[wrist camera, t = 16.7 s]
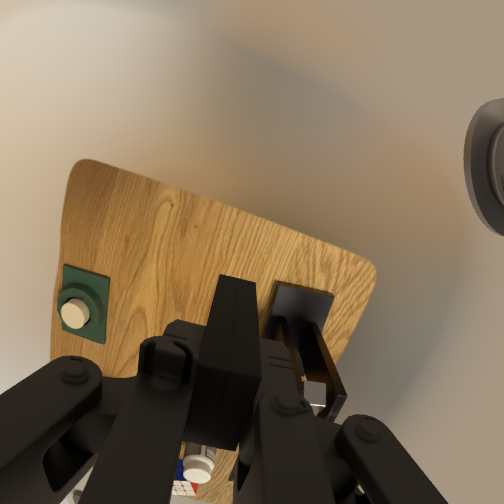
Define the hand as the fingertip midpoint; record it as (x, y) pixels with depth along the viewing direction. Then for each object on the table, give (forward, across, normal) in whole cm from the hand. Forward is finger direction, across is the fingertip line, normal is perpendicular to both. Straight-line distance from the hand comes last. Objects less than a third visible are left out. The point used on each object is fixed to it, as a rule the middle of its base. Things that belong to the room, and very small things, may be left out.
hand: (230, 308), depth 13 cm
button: (+22, -18, -16) cm, 33 cm away
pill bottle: (+25, +2, -35) cm, 43 cm away
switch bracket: (+24, +10, -12) cm, 29 cm away
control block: (+24, -18, -16) cm, 34 cm away
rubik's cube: (+25, 0, -45) cm, 51 cm away
